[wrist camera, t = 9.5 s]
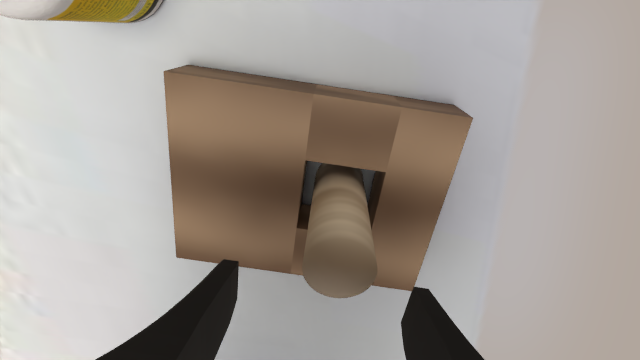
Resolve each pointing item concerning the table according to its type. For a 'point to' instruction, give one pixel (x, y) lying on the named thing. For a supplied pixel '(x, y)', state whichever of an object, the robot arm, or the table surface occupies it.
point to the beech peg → (339, 234)
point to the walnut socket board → (302, 166)
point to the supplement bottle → (80, 10)
